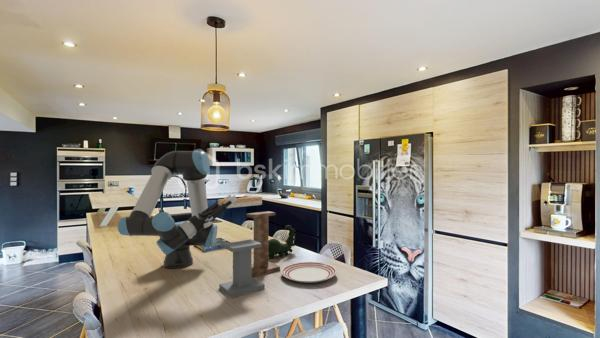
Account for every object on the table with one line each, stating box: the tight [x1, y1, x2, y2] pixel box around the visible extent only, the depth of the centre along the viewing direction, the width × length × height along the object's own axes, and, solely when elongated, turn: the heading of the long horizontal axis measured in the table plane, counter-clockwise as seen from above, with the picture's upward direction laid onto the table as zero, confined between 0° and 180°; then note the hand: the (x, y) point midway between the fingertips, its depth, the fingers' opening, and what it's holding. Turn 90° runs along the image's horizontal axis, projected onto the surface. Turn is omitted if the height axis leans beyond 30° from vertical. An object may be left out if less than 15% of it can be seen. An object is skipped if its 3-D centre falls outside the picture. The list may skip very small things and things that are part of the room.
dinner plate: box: [280, 261, 338, 284], centre depth 153 cm, size 28×27×3 cm
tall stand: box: [246, 210, 281, 278], centre depth 161 cm, size 16×12×30 cm
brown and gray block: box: [217, 196, 263, 209], centre depth 153 cm, size 22×4×4 cm, turn 128°
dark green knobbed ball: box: [268, 224, 297, 259], centre depth 187 cm, size 9×19×25 cm
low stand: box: [219, 239, 266, 299], centre depth 136 cm, size 16×12×20 cm
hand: (233, 197), depth 150 cm, fingers closed on brown and gray block, 4 cm apart
